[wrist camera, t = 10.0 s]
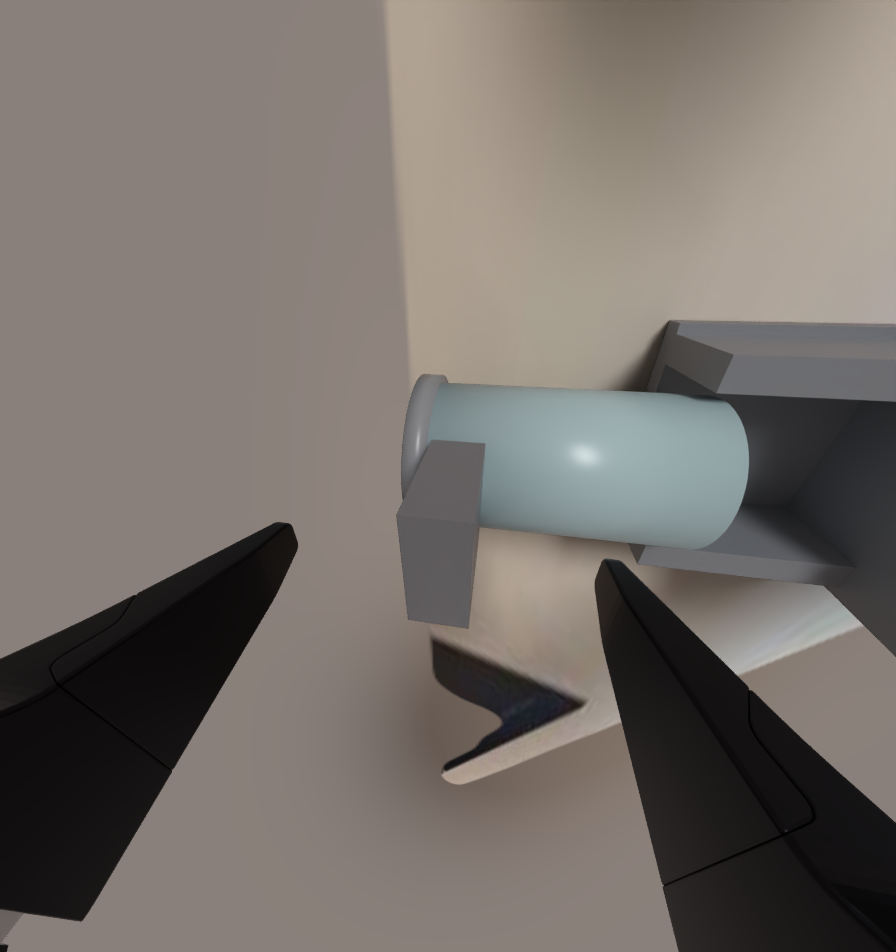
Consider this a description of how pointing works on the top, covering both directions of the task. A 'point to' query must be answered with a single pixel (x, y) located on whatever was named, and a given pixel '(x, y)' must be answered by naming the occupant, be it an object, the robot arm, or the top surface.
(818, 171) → the top surface
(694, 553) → the housing
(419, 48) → the top surface
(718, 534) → the cartridge
